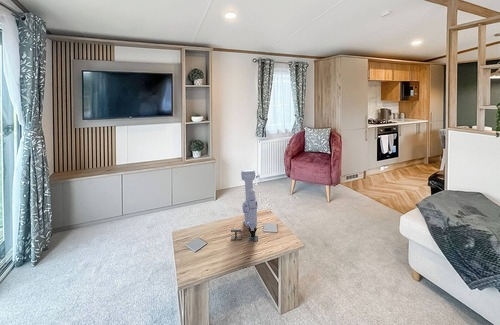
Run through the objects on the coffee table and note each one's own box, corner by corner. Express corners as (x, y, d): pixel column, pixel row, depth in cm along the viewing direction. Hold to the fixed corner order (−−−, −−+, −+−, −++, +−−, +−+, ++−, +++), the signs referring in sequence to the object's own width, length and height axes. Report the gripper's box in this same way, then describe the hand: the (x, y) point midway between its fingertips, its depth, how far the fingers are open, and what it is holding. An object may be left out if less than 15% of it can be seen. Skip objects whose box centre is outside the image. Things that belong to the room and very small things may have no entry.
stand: (231, 236, 186) (231, 228, 184) (241, 236, 185) (241, 228, 184) (230, 240, 181) (230, 231, 179) (240, 240, 180) (240, 231, 179)
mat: (249, 236, 185) (249, 235, 185) (258, 236, 185) (258, 235, 185) (248, 241, 179) (248, 240, 179) (257, 241, 179) (257, 240, 178)
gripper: (247, 212, 185) (248, 229, 188) (246, 222, 171) (246, 240, 174) (257, 212, 185) (258, 229, 188) (256, 221, 171) (257, 240, 174)
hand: (253, 235), depth 181 cm, fingers closed on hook, 5 cm apart
